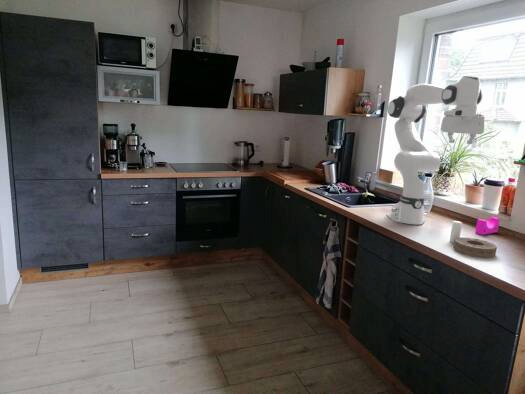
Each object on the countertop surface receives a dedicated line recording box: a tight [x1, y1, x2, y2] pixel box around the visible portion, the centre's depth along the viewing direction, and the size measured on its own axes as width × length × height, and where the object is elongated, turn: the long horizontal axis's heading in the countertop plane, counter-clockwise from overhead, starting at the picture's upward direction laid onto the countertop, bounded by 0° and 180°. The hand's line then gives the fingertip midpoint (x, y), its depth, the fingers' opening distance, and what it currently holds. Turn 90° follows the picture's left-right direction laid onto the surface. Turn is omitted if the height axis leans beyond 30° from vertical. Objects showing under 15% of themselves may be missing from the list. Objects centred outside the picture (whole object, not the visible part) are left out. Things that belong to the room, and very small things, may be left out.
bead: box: [453, 236, 498, 259], centre depth 174 cm, size 16×16×4 cm
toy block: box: [474, 216, 501, 236], centre depth 210 cm, size 15×6×8 cm, turn 122°
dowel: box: [449, 220, 463, 244], centre depth 186 cm, size 4×4×10 cm
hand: (460, 143), depth 181 cm, fingers open, 8 cm apart
